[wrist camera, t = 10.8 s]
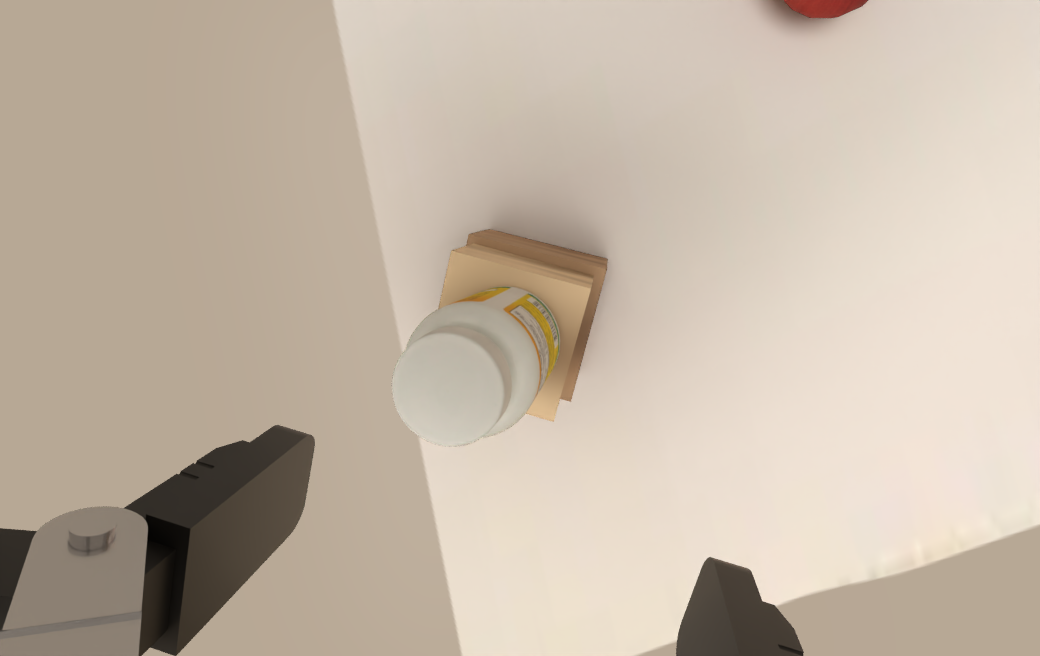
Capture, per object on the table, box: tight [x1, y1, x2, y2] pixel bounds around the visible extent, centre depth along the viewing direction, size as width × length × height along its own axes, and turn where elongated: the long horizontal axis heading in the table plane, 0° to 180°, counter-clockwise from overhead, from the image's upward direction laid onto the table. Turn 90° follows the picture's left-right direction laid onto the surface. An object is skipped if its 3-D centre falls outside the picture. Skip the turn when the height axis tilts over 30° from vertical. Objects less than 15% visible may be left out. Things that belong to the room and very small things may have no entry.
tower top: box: [438, 243, 594, 421], centre depth 32 cm, size 7×7×5 cm
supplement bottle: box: [392, 286, 560, 447], centre depth 25 cm, size 5×5×10 cm
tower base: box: [466, 229, 607, 402], centre depth 37 cm, size 8×8×6 cm
